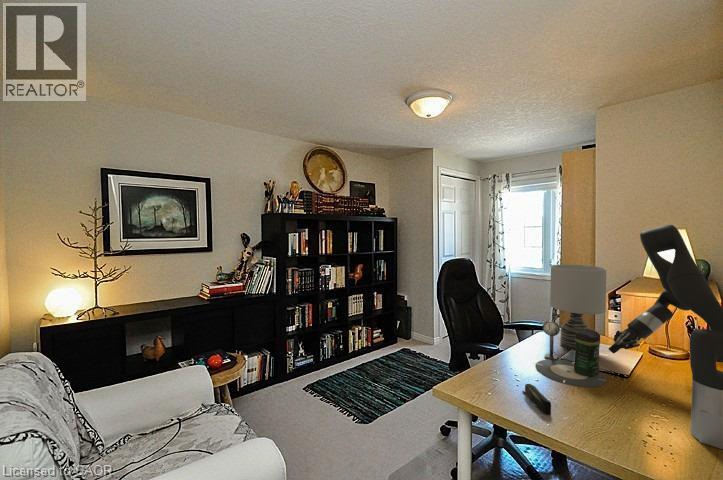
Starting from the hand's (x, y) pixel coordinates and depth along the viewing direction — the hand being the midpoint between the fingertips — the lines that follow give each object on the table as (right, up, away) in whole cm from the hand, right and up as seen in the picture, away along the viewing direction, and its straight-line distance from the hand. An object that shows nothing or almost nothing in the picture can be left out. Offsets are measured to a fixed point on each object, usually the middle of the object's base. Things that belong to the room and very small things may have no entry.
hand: (610, 351), depth 137 cm
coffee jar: (-9, -10, +2) cm, 14 cm away
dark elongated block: (-44, -12, -20) cm, 50 cm away
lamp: (+6, -9, +31) cm, 33 cm away
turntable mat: (-16, -10, +3) cm, 19 cm away
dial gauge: (-15, -10, +18) cm, 25 cm away
